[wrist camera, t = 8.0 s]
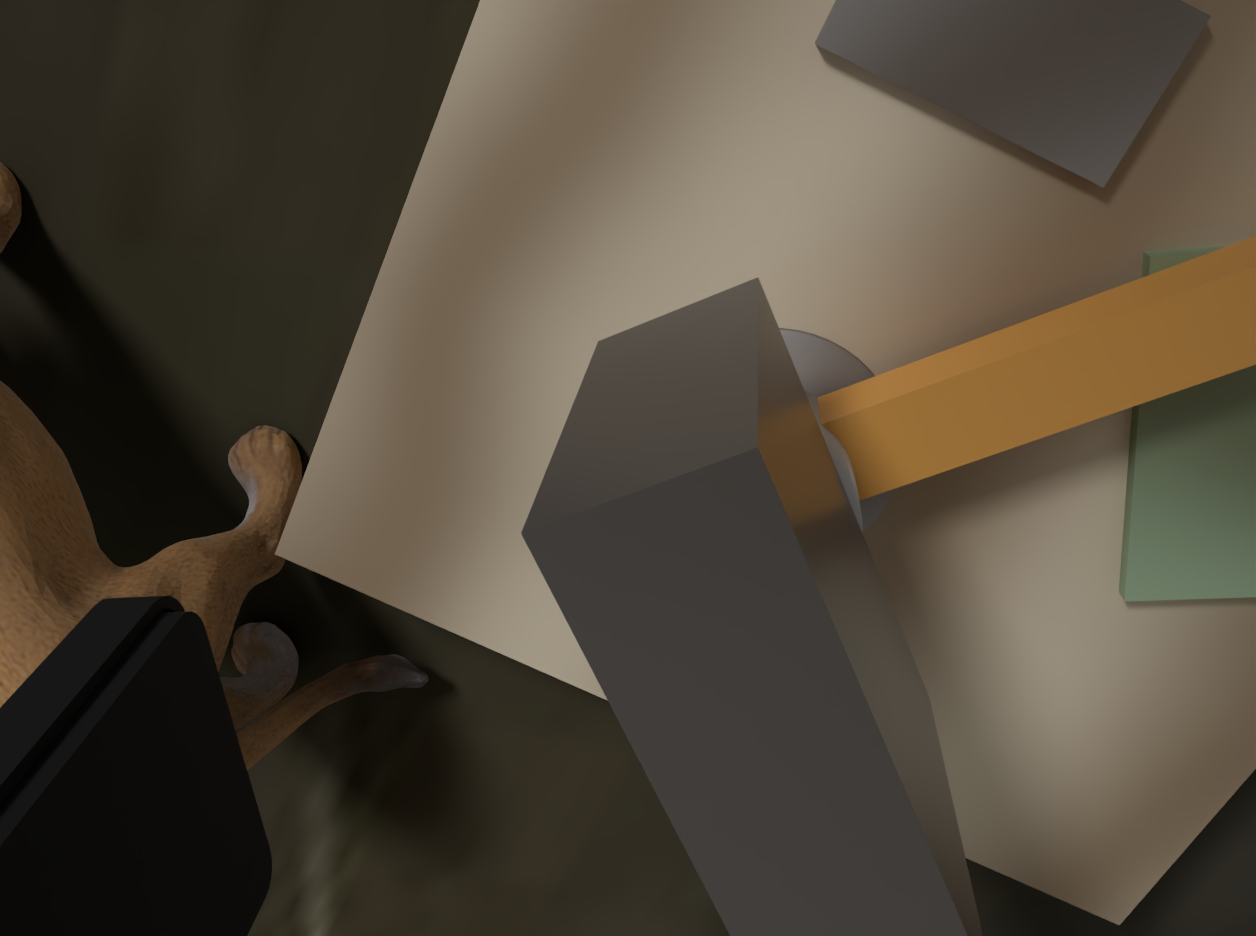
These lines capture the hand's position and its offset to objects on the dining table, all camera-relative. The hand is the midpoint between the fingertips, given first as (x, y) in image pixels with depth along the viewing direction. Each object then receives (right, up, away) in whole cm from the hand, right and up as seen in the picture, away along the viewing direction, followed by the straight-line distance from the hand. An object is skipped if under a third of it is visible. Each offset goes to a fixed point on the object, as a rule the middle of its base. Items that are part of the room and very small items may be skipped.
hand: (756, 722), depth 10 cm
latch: (+4, +3, +6) cm, 8 cm away
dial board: (+3, +4, +9) cm, 10 cm away
